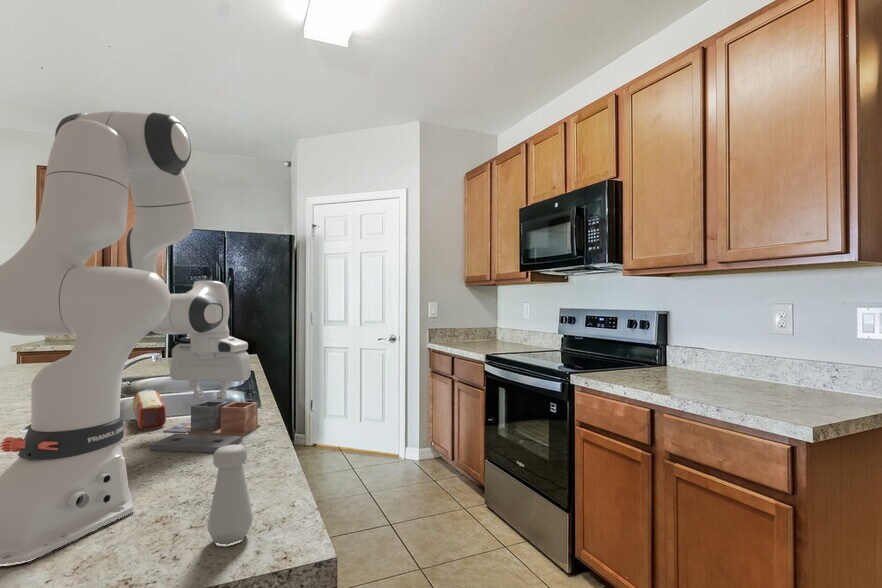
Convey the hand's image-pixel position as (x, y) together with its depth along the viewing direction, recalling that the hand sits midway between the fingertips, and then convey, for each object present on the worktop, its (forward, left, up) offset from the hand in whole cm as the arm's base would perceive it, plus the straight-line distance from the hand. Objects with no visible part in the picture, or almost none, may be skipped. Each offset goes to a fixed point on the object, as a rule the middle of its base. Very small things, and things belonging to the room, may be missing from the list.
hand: (210, 398), depth 115 cm
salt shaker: (-48, -35, -8) cm, 60 cm away
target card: (+1, +8, -8) cm, 11 cm away
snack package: (+7, +22, -9) cm, 25 cm away
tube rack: (0, -4, -8) cm, 9 cm away
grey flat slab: (-11, -4, -8) cm, 15 cm away
